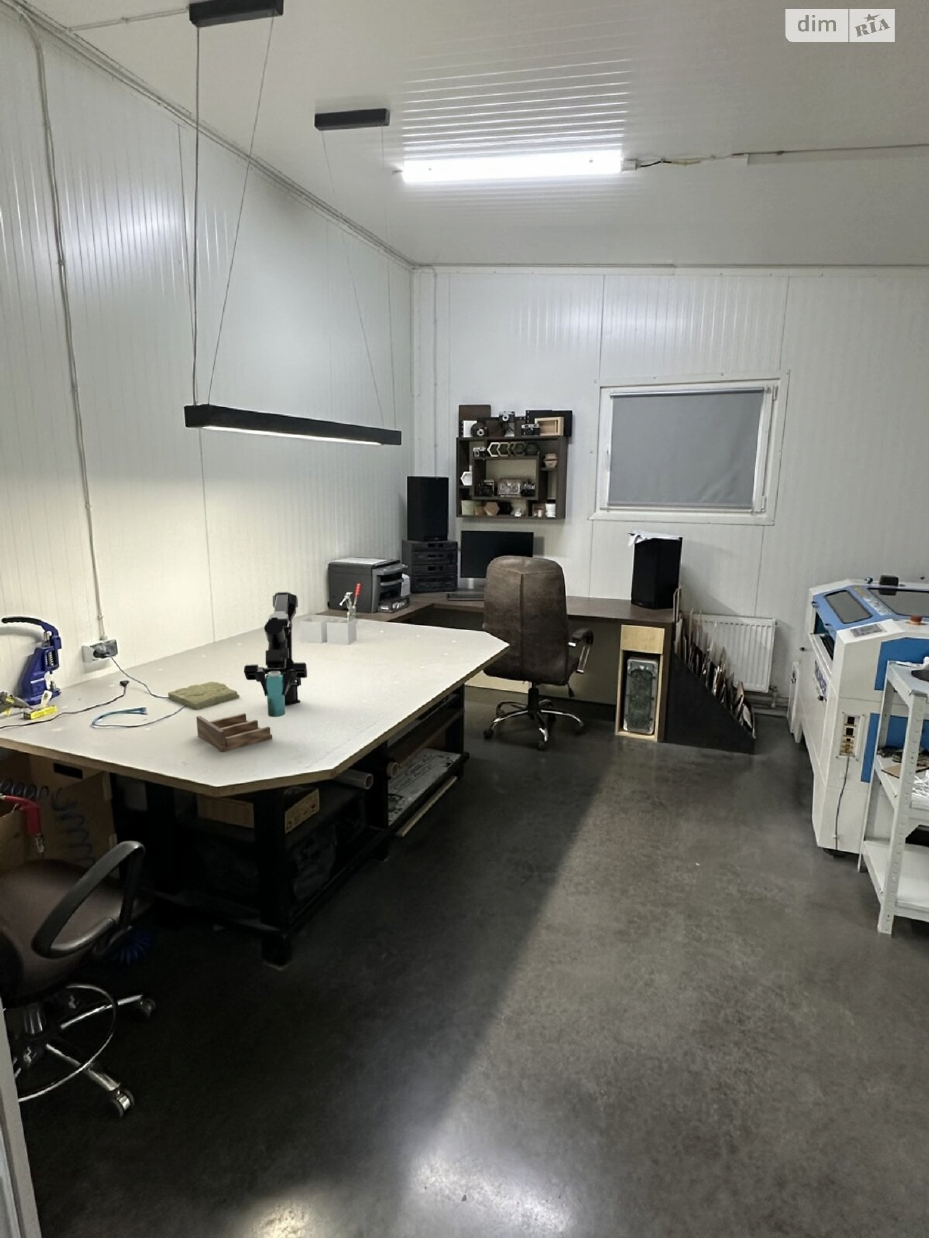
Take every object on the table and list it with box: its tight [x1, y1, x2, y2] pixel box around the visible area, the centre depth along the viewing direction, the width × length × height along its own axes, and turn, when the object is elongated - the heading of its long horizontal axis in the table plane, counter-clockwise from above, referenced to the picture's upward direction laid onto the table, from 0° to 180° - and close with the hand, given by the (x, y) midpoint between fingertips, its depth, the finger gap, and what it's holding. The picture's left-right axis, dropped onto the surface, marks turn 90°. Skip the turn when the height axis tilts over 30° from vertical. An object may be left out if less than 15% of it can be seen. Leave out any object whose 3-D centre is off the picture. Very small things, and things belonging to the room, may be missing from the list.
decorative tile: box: [167, 681, 240, 710], centre depth 247 cm, size 19×20×4 cm
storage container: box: [299, 616, 358, 646], centre depth 336 cm, size 25×11×11 cm, turn 78°
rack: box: [196, 713, 273, 753], centre depth 208 cm, size 16×18×6 cm
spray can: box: [265, 671, 286, 718], centre depth 208 cm, size 5×5×14 cm
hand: (274, 695), depth 207 cm, fingers closed on spray can, 5 cm apart
